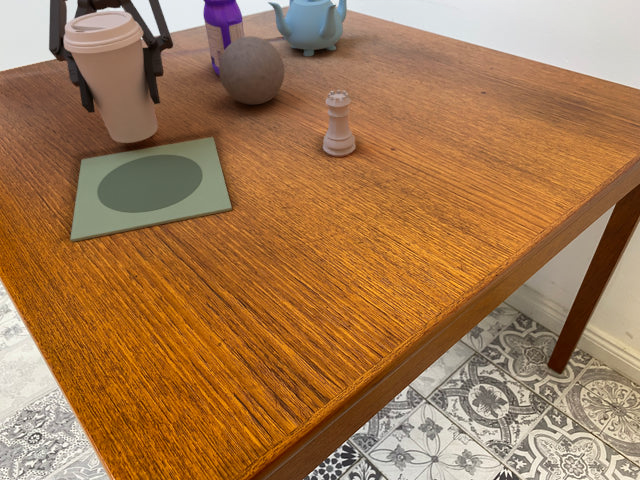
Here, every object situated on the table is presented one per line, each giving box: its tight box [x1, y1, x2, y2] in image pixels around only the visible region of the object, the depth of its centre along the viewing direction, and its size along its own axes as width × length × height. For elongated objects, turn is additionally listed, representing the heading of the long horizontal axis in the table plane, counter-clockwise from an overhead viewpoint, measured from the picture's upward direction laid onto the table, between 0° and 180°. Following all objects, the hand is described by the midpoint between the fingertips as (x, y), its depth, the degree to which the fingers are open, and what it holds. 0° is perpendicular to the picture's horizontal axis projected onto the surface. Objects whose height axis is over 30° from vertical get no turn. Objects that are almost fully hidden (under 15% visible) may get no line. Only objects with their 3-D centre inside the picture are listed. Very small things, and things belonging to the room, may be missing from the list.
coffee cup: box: [64, 10, 159, 144], centre depth 68 cm, size 10×10×15 cm
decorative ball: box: [218, 36, 285, 106], centre depth 80 cm, size 10×10×10 cm
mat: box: [69, 136, 233, 243], centre depth 66 cm, size 18×18×1 cm
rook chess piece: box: [322, 89, 356, 158], centre depth 68 cm, size 4×4×8 cm
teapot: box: [267, 0, 348, 57], centre depth 97 cm, size 13×13×10 cm
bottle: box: [202, 0, 245, 77], centre depth 87 cm, size 7×6×17 cm
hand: (122, 104), depth 67 cm, fingers closed on coffee cup, 8 cm apart
